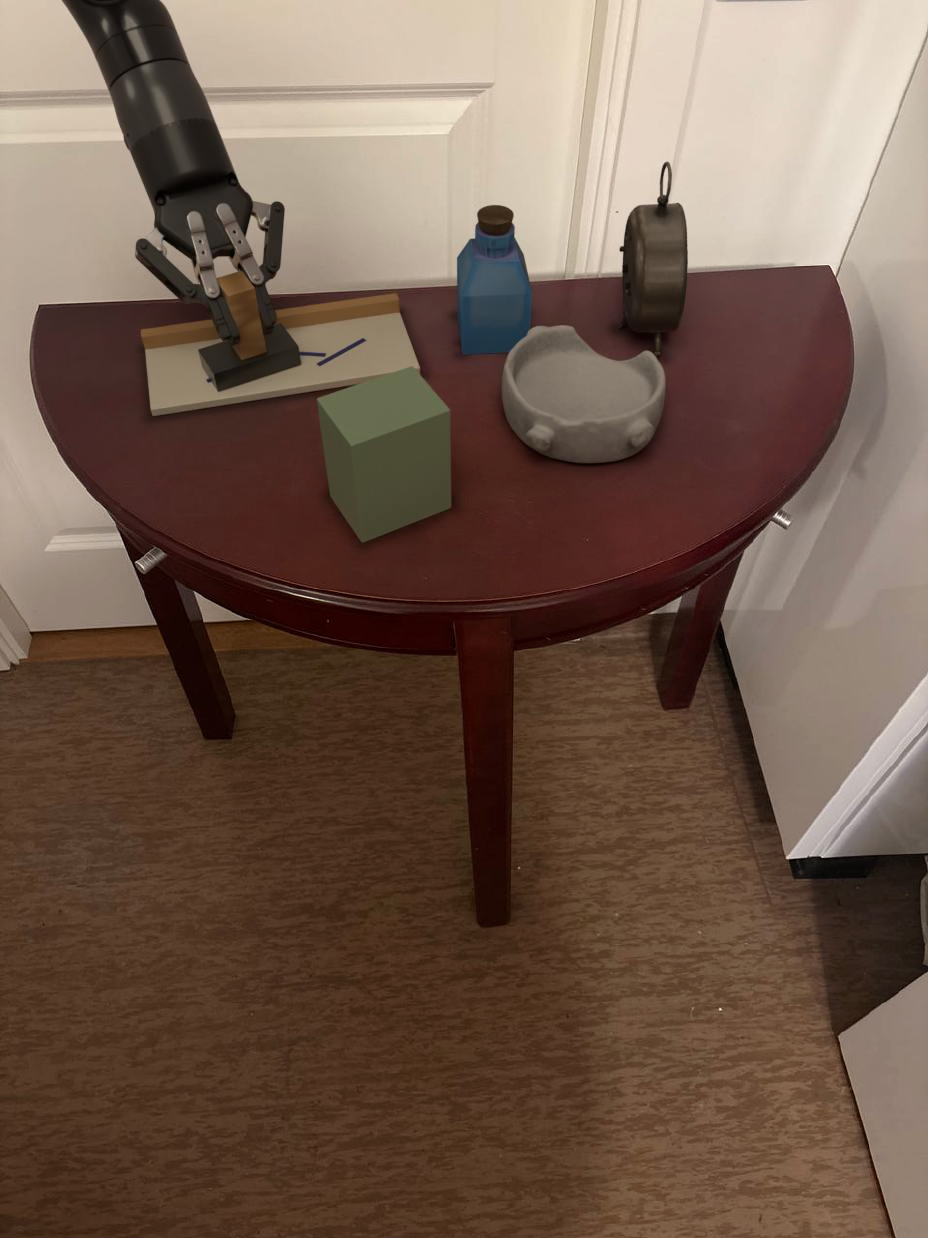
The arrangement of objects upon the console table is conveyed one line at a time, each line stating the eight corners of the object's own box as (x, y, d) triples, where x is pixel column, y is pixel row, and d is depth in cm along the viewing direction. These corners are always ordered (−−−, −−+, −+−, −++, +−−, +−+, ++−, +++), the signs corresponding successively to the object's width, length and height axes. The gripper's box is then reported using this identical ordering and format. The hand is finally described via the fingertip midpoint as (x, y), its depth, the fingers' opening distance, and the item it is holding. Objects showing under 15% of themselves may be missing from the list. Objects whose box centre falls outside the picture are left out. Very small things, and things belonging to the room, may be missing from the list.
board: (152, 416, 88) (146, 396, 86) (146, 349, 94) (140, 329, 92) (420, 374, 92) (419, 354, 90) (397, 312, 98) (396, 292, 96)
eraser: (218, 392, 89) (197, 308, 82) (202, 367, 91) (181, 284, 84) (301, 364, 91) (288, 280, 85) (284, 341, 94) (270, 258, 87)
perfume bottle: (462, 354, 94) (462, 235, 84) (457, 315, 98) (456, 197, 88) (528, 351, 94) (535, 232, 85) (520, 312, 98) (526, 194, 89)
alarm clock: (675, 365, 93) (709, 197, 80) (617, 365, 93) (641, 196, 80) (663, 297, 100) (692, 132, 87) (608, 296, 100) (630, 131, 87)
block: (361, 543, 79) (350, 445, 71) (329, 496, 82) (315, 398, 74) (451, 508, 81) (450, 409, 73) (417, 463, 84) (412, 365, 77)
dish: (512, 360, 93) (514, 313, 89) (663, 377, 92) (672, 330, 88) (486, 465, 84) (488, 418, 80) (653, 486, 83) (663, 439, 79)
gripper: (90, 137, 78) (178, 353, 81) (257, 96, 82) (336, 302, 85) (90, 174, 85) (172, 371, 88) (245, 135, 90) (318, 324, 92)
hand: (252, 336), depth 87 cm, fingers closed on eraser, 2 cm apart
